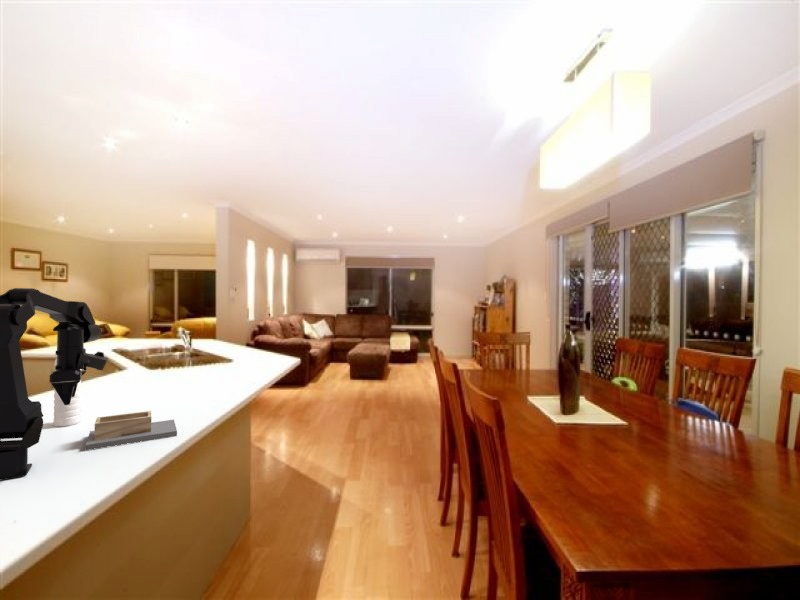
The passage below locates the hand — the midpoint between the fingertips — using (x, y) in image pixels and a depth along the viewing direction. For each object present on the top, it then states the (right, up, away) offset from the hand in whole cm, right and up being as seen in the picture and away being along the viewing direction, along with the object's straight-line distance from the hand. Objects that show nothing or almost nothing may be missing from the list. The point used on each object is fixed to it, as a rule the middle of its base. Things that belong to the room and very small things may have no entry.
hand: (69, 400), depth 109 cm
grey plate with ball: (+15, -11, +4) cm, 20 cm away
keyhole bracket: (+14, -10, +2) cm, 17 cm away
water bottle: (-12, -11, +14) cm, 21 cm away
